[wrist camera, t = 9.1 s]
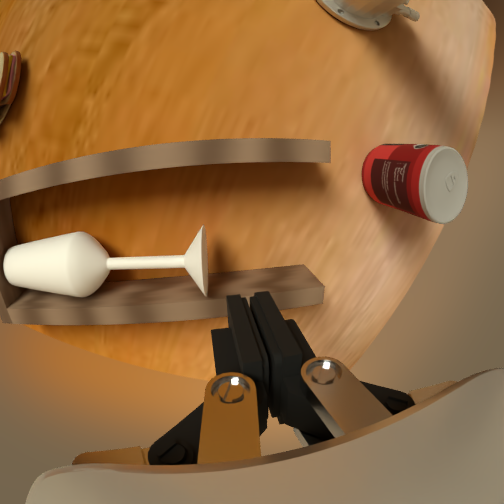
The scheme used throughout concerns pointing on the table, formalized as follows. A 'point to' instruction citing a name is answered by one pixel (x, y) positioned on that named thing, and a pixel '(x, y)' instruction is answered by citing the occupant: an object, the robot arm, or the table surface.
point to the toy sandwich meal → (8, 80)
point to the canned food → (417, 180)
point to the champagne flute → (90, 264)
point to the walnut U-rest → (158, 289)
